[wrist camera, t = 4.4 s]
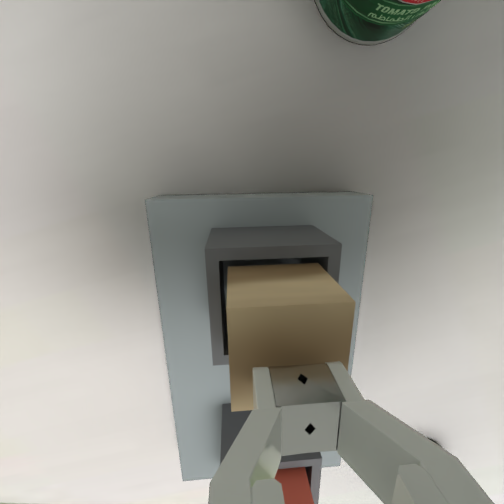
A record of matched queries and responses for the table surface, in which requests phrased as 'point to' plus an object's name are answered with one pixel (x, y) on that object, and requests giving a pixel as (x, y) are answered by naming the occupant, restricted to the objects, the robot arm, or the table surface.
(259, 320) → the tan button
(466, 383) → the table surface
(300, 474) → the red button
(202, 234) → the button panel
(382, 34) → the canned tomato
